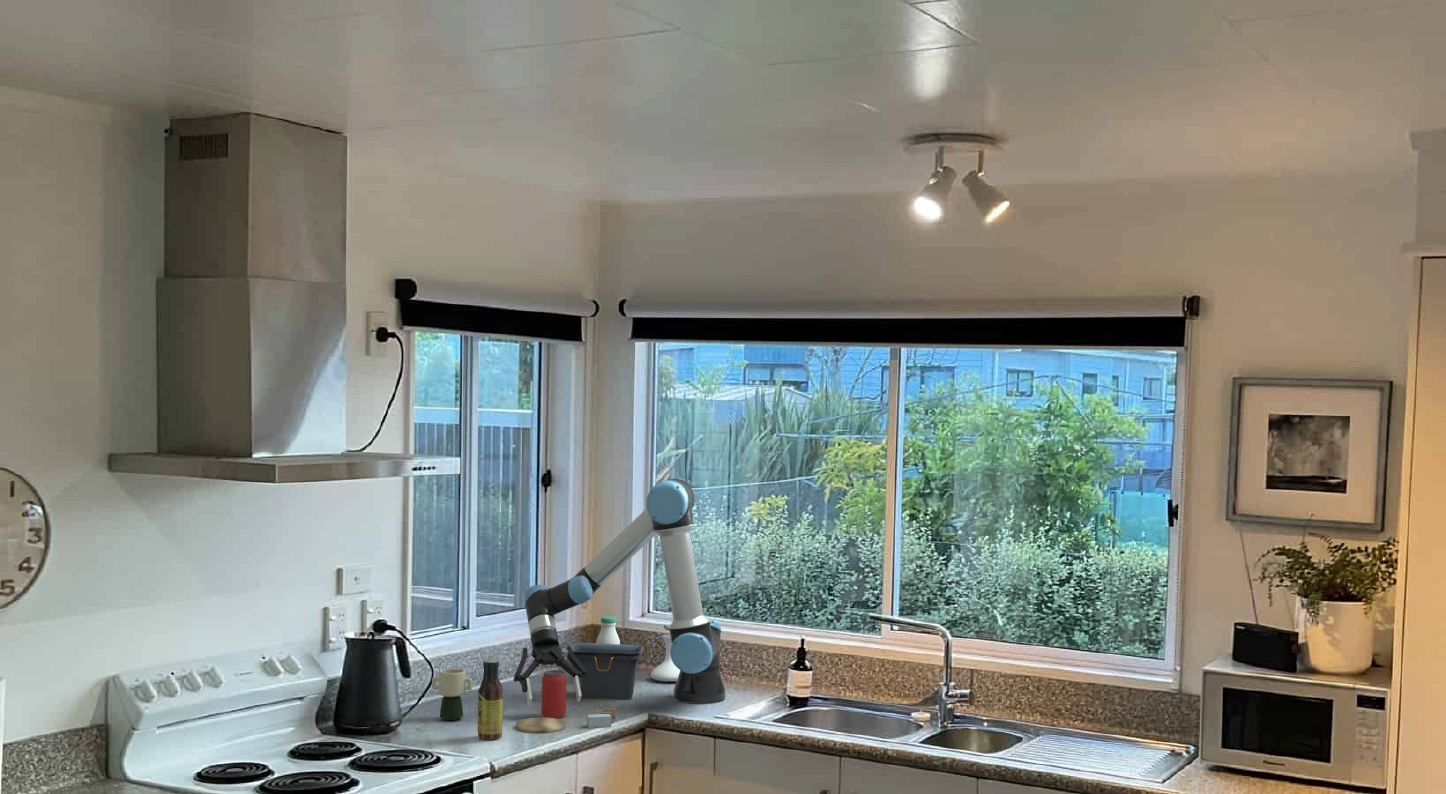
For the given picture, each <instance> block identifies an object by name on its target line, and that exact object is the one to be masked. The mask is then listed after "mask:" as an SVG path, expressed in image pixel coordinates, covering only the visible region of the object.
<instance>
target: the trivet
mask: <svg viewBox="0 0 1446 794" xmlns="http://www.w3.org/2000/svg"><path fill="white" fill-rule="evenodd" d="M566 724H567V723H566V721H564V720H563V719H561V718H557V719H555V718H545V717H529V718H525V719H521V720H520V719H519V720H518V721H516V722H515V728H516V730H518V731H519V732H523V733H529V734H530V733H531V734H548V733H557V732H560V731H563V730H565V729H566V727H567V726H566Z"/></svg>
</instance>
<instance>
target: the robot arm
mask: <svg viewBox="0 0 1446 794" xmlns="http://www.w3.org/2000/svg"><path fill="white" fill-rule="evenodd" d="M645 502H646V503H645V509H644V510H643V511H641V513H640V514H639V515H638V516H637V517H636V518H635V519H634V520H632V522H631V523H630V522H629V523H630V524H628V525H627V526H626V527H625V528H624V529H623V530H622V531H621V532H620V533H619V534H617V536H616V537H614V538H613V539H612V540H611V541H610V542H609V543H608V544H607V545H606V546H605V547H604V548H603V549H602V550H600V552H599V553H598V554H596V555H595V556H594V557H593V558H592V559H591V560H590V561H589V562H588V563H587V564H586V565H585V566H584V567H582V568H581V569H580V570H579V571H578V572H577V573H576V574H575V575H574V576H573V577H571V578H570V579H567V580H566V581H564V582H561V583H559V584H557V585H555V586H553V587H550V588H549V587H548V586H547V585H544V584H538V585H532V586H530V587H528V588H527V589H526V590H525V592H524V597H523V598H524V608H525V611H526V616H527V622H528V629H529V637H530V643H531V649H528V648H526V647H524V648H523V649H522V651H521V659H520V662H519V664H518V666H517V668H516V671H515V674H514V676H513V681H514V682H519V684H520V685H521V691H522V693H525V694H526V702H527V704H528V705H531V704H532V701H533V694H532V687H531V681H530V677H531V675H532V674H533V672H534V671H535V670H536V668H537V667H539V665H542V666H547V665H551V666H553V665H556V666H557V667H560V668H561V669H562V670H564V672H566V673H567V674H568V675H570V676H571V678H573V687H574V694H575V693H576V696H575V698H576V702H581V699H582V698H581V696H582V695H581V689H582V687H583V682H582V678H585V677H586V675H587V670H586V669H585V667H584V666H583V665H582V664H581V662H580V661H579V660H578V658H577V657H576V656H575V655H574V653H573V652H572V648H571V647H570V645H568V646H567V647H566V648H561V646H560V642H559V636H558V632H557V631H558V630H557V626H556V619H555V615H558V614H560V613H562V612H564V611H566V610H570V609H571V608H574V607H577V606H579V605H583V604H584V603H586V602H588V601H590V600H591V599H592V598H593V595H594V594H595V592H597V590H599V589H600V588H601V587H602V586H603V584H605V583H606V582H607V581H608V580H609V579H610V578H612V576H613V575H615V574H616V573H617V572H618V571H619V570H620V569H621V568H622V567H623V566H624V565H625V564H626V563H628V561H630V560H631V559H632V558H633V557H634V556H635V555H636V554H637V553H638V552H639V551H640V550H642V548H644V546H645V545H647V544H648V543H649V542H650V541H651V540H652V539H654V537H655V536H656V535H658V536H659V539H660V545H661V546H660V547H661V552H662V558H663V564H664V565H663V566H664V571H665V575H666V583H667V588H668V589H667V590H668V595H669V596H668V597H669V601H670V608H671V614H672V622H670V624H669V626H668V627H669V630H670V631H669V635H670V636H671V642H672V644H671V649H670V655H671V659H672V662H673V663H674V665H675V666H676V667H677V668H678V669H679V670H680V673H679V676H678V679H677V681H675V682H676V683H675V685H674V688H673V696H672V697H673V699H674V700H676V701H679V702H683V703H692V704H712V703H713V704H714V703H719V702H722V701H725V699H726V688H725V685H724V682H723V678H722V674H721V670H720V669H721V633H722V628H721V621H719V620H717V619H709V618H708V617H706V616H705V615H704V612H703V605H702V598H701V594H700V593H701V592H700V587H699V580H698V574H697V570H696V569H697V567H696V562H695V555H694V550H693V545H692V538H691V537H692V536H691V530H692V529H693V527H694V525H695V524H694V523H695V522H694V517H693V507H694V505H695V494H694V490H693V489H692V486H691V485H690V484H689V483H687V482H686V481H684V480H682V479H679V478H670V479H666V480H665V479H664V480H662V481H660V482H657V483H656V484H655V485H653V487H651V489H650V490H649V492H648V493H647V496H646V501H645ZM563 655H564V656H563ZM530 656H531V657H532V658H534V659H533V661H532V662H531V663H530V665H529V666H528V667H527V668H526V669H525V671H524V672H523V668H524V666H525V664H526V662H527V659H529V658H530ZM565 658H567V659H565ZM567 660H568V661H567ZM522 672H523V674H522Z"/></svg>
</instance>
